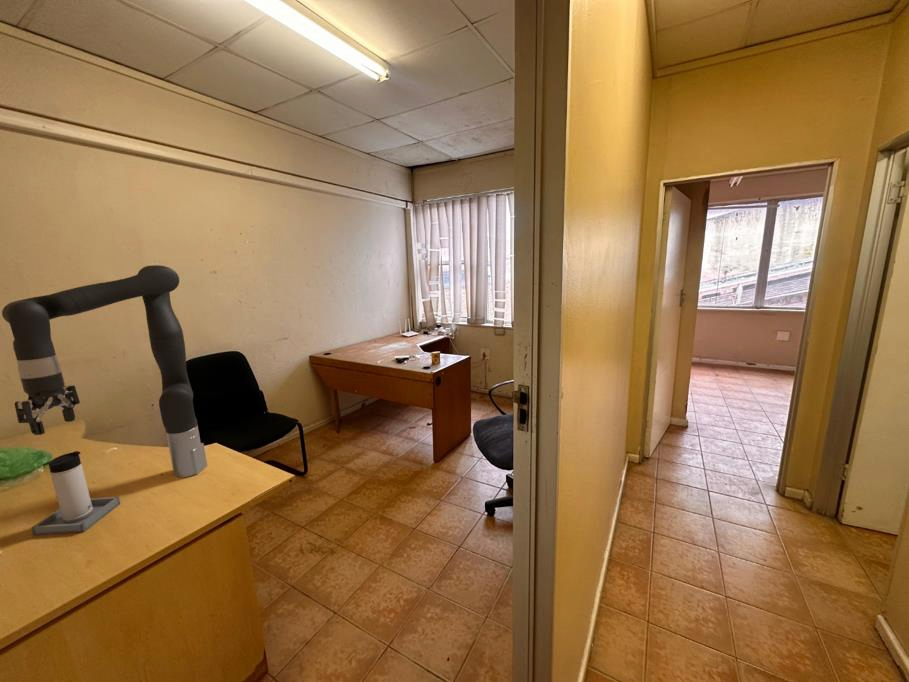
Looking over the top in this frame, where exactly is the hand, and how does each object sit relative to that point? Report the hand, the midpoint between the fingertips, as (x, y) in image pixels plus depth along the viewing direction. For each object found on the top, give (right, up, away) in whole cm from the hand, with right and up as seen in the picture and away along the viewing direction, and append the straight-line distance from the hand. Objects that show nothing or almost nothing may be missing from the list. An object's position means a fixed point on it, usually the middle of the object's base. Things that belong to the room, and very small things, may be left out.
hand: (55, 427), depth 100 cm
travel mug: (0, -29, +6) cm, 30 cm away
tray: (0, -29, +6) cm, 30 cm away
